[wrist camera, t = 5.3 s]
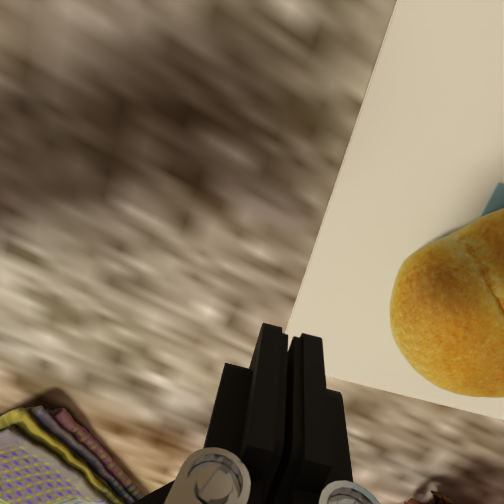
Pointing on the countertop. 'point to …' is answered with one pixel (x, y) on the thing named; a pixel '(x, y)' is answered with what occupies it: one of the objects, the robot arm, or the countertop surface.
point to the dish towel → (57, 462)
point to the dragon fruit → (439, 503)
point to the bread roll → (455, 309)
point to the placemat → (408, 187)
